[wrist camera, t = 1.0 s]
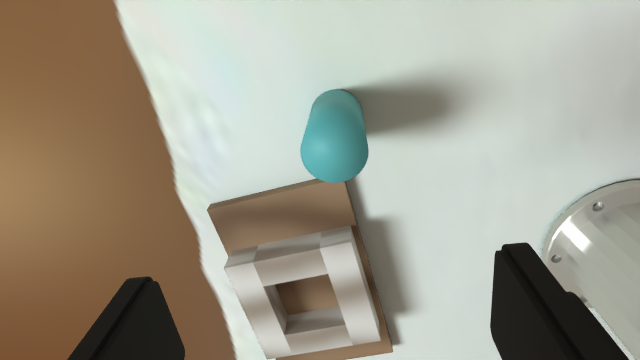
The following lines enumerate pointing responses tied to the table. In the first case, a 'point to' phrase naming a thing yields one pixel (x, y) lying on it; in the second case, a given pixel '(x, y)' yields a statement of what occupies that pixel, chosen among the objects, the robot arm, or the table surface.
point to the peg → (335, 138)
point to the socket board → (296, 222)
